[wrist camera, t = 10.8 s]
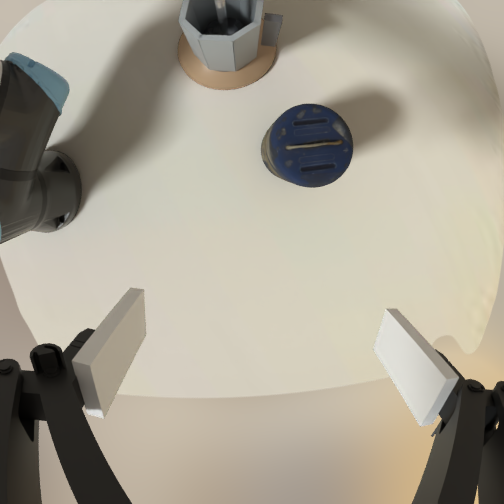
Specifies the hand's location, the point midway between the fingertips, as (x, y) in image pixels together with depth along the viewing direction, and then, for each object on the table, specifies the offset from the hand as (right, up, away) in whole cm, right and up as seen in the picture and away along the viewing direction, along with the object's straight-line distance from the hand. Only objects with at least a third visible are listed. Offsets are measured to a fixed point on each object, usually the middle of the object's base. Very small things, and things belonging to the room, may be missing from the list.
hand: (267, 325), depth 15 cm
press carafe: (-5, +37, +25) cm, 45 cm away
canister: (+5, +20, +31) cm, 37 cm away
